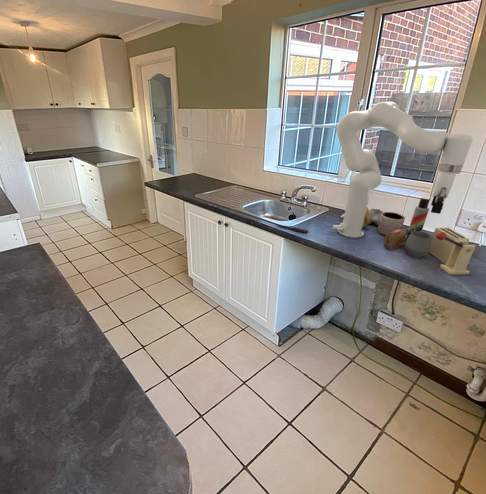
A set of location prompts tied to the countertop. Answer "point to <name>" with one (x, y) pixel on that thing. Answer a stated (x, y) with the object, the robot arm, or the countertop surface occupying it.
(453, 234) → the toaster
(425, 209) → the spray bottle
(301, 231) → the knife
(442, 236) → the red knob lever
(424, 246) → the cup
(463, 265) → the lever bracket
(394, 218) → the planter
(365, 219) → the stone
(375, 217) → the fossil
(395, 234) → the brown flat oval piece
